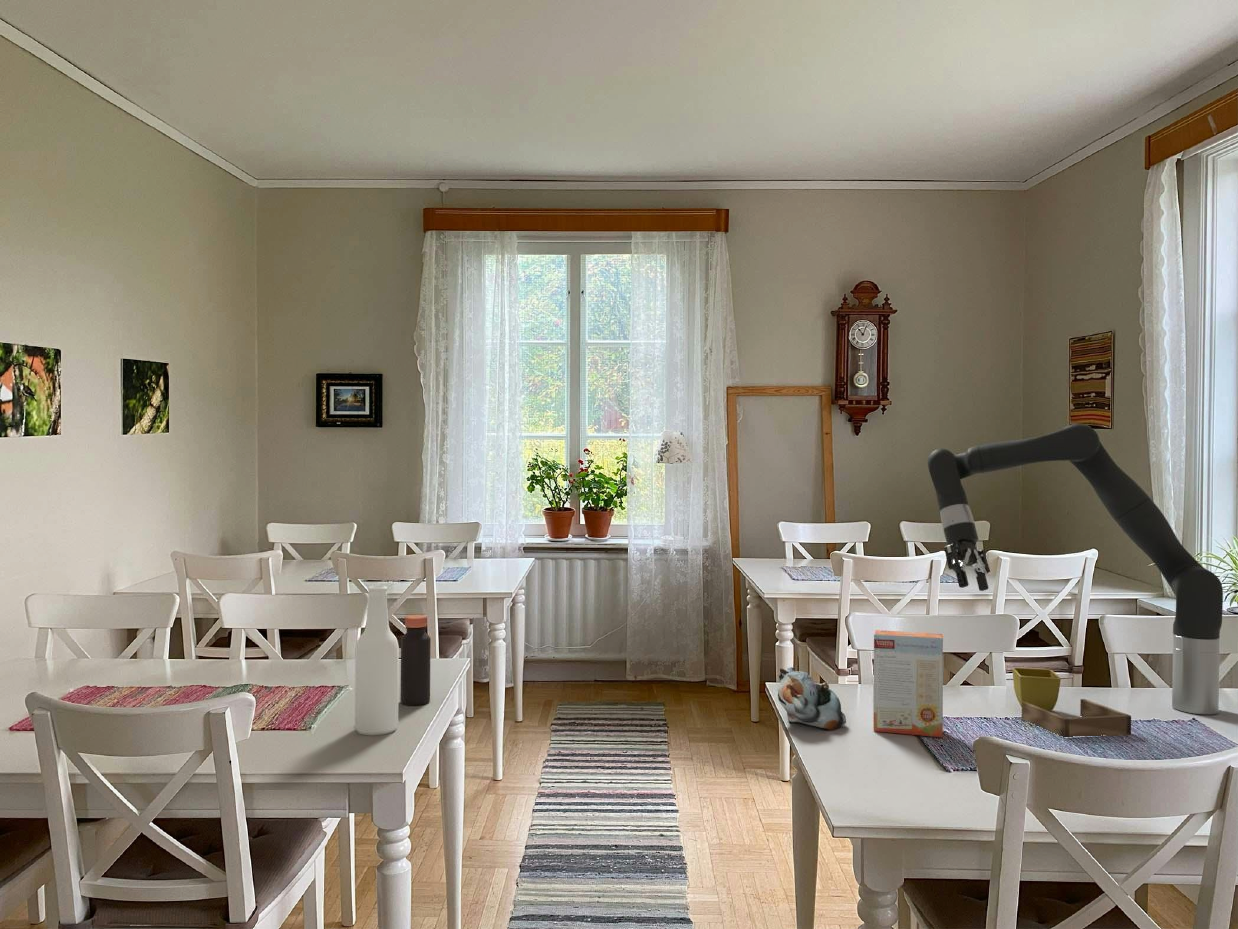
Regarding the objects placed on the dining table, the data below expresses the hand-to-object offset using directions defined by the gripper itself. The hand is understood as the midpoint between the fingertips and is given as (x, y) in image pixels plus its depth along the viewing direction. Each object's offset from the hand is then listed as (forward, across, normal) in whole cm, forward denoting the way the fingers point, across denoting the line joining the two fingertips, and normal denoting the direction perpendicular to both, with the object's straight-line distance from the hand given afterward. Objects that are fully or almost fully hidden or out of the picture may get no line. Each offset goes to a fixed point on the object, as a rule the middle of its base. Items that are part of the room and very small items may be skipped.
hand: (974, 588), depth 225 cm
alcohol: (+23, -123, +69) cm, 143 cm away
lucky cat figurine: (+29, -45, +20) cm, 57 cm away
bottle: (+14, -108, +83) cm, 137 cm away
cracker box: (+33, -32, +4) cm, 47 cm away
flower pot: (+30, +5, -4) cm, 31 cm away
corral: (+35, 0, -14) cm, 38 cm away
